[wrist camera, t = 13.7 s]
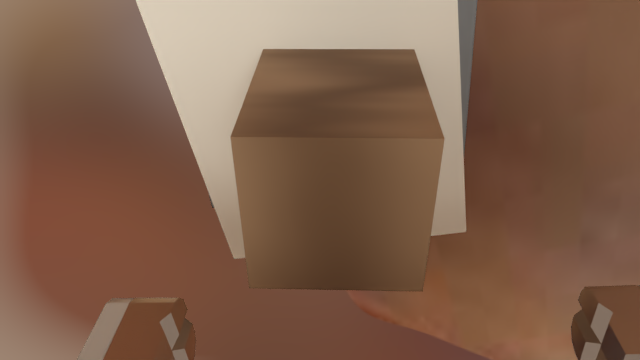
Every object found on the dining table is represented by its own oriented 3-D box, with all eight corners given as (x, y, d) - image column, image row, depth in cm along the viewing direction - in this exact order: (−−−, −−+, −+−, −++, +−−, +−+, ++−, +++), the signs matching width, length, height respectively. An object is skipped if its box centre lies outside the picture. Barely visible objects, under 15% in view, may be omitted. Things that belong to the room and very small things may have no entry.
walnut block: (414, 49, 17) (444, 138, 12) (402, 175, 20) (422, 291, 15) (263, 49, 17) (230, 137, 12) (272, 174, 20) (249, 288, 15)
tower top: (427, -139, 18) (452, -131, 14) (446, 166, 25) (466, 231, 21) (162, -82, 19) (113, -59, 15) (250, 192, 26) (233, 259, 22)
